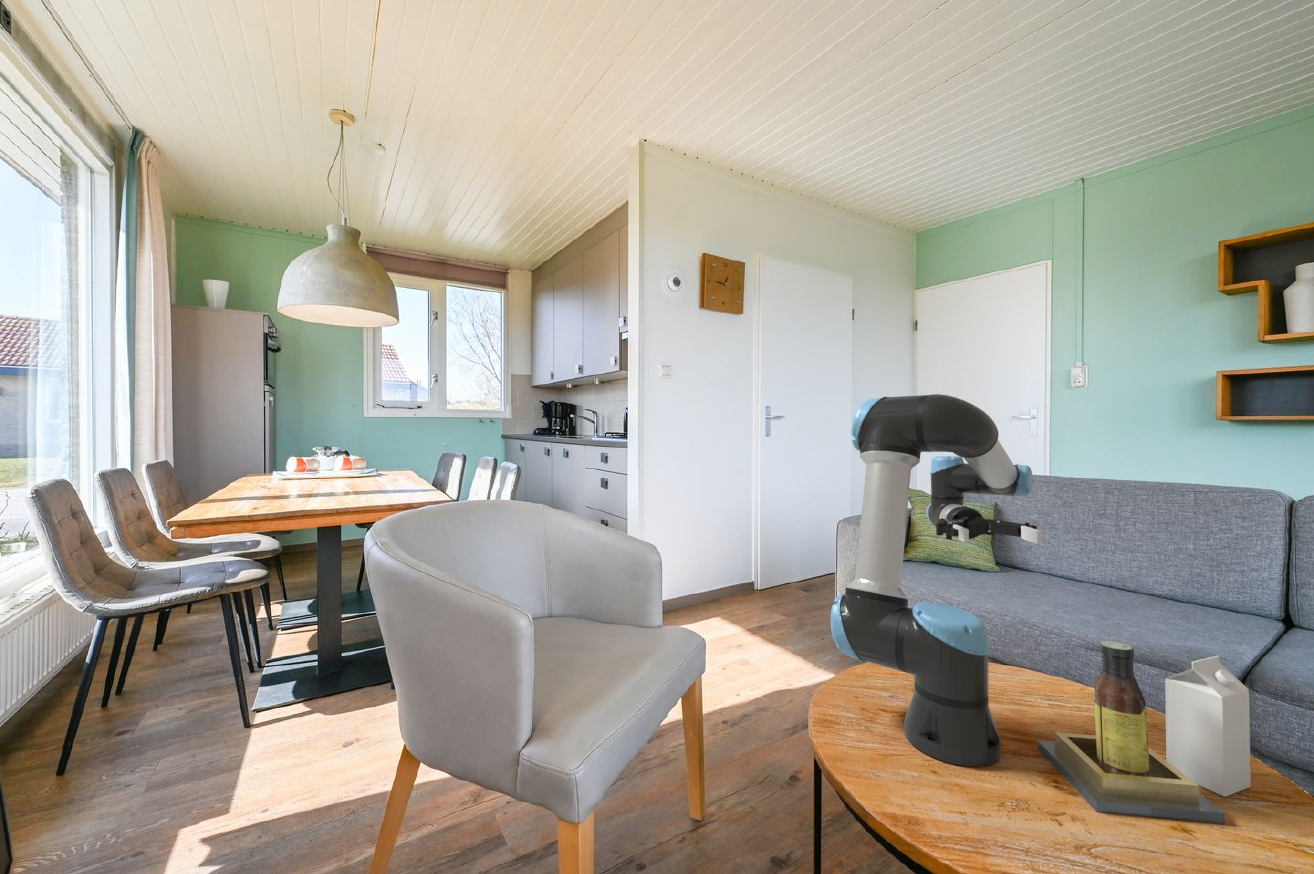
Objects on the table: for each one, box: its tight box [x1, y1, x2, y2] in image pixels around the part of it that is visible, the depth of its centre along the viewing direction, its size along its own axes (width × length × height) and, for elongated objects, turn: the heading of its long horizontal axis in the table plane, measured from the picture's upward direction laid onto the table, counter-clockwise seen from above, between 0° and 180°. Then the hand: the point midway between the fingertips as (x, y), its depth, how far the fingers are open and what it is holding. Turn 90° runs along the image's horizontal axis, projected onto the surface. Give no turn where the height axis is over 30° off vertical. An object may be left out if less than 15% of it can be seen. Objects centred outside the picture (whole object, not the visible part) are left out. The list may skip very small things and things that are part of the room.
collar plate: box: [1036, 731, 1226, 825], centre depth 84 cm, size 16×16×4 cm
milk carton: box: [1164, 655, 1252, 798], centre depth 85 cm, size 7×7×19 cm
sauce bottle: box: [1093, 640, 1149, 777], centre depth 84 cm, size 7×6×20 cm
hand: (1002, 536), depth 110 cm, fingers open, 13 cm apart
